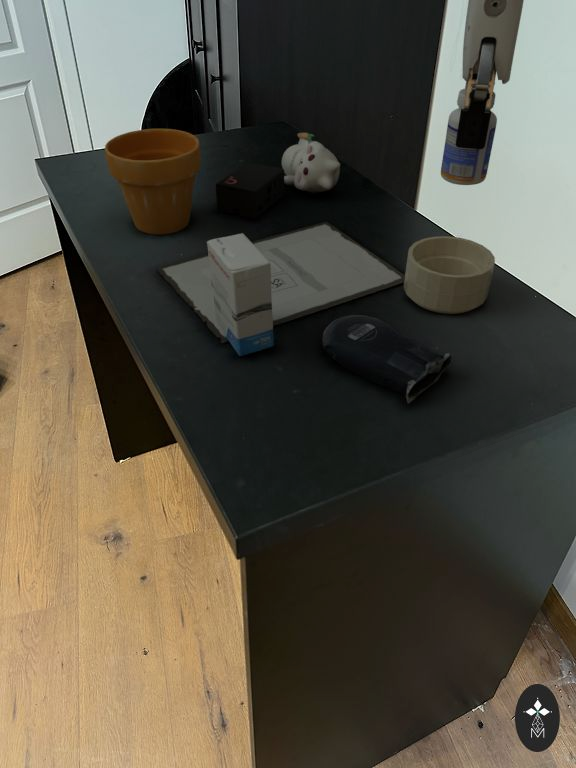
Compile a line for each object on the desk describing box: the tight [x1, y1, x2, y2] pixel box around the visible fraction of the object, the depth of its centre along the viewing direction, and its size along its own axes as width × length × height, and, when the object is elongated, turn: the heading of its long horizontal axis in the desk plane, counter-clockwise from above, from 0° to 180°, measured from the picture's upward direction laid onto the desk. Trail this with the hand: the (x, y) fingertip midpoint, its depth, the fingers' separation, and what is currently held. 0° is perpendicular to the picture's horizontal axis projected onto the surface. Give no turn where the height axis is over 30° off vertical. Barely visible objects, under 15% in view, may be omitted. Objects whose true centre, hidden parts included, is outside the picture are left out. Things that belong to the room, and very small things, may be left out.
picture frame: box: [155, 221, 405, 344], centre depth 94 cm, size 22×1×30 cm
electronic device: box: [215, 161, 285, 220], centre depth 111 cm, size 7×11×5 cm
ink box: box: [206, 232, 275, 357], centre depth 78 cm, size 9×5×12 cm, turn 25°
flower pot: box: [104, 128, 202, 236], centre depth 103 cm, size 14×14×13 cm
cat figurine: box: [281, 132, 341, 194], centre depth 116 cm, size 10×8×15 cm
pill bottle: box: [440, 87, 498, 186], centre depth 76 cm, size 5×5×10 cm
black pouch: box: [321, 314, 453, 405], centre depth 77 cm, size 9×6×15 cm
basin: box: [403, 235, 496, 315], centre depth 88 cm, size 11×11×6 cm
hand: (470, 136), depth 76 cm, fingers closed on pill bottle, 5 cm apart
